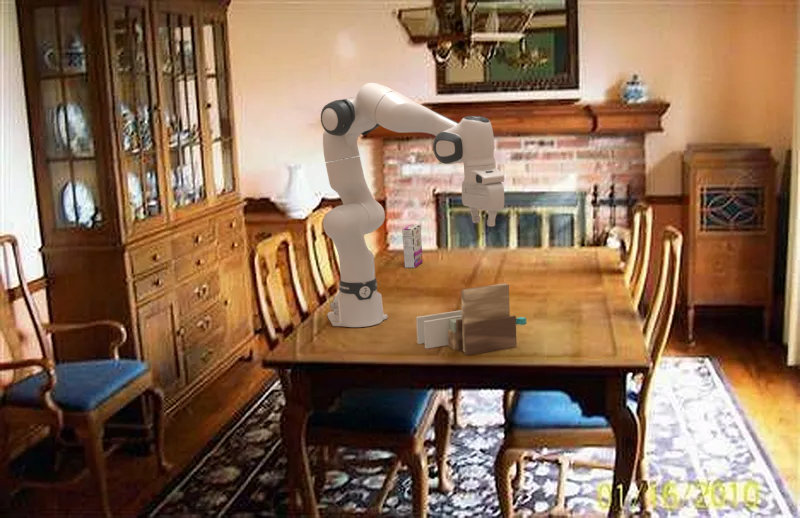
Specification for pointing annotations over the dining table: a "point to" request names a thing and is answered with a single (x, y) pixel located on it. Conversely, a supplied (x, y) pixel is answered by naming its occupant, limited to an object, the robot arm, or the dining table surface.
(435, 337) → the holder
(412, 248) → the candy bar box
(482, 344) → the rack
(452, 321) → the offcut
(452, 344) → the offcut
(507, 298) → the sheet
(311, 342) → the dining table surface
